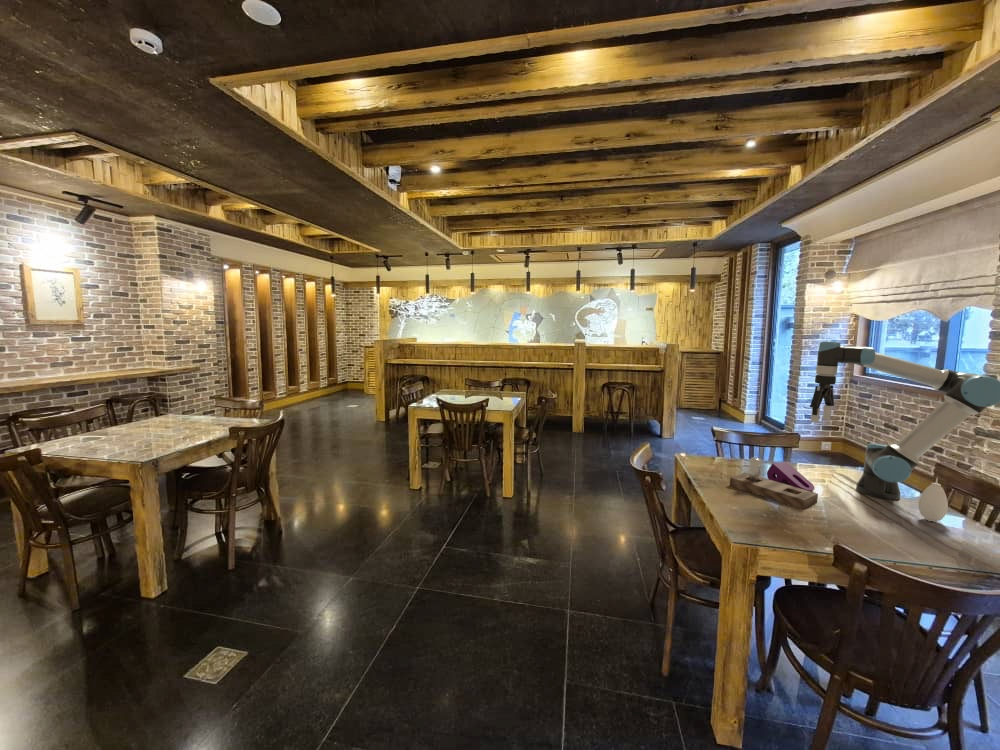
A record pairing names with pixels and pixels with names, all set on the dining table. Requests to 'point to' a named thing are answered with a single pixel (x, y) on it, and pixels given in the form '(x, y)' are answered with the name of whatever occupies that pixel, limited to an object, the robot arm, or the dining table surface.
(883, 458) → the robot arm
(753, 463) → the steel pin
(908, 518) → the dining table surface
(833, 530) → the dining table surface
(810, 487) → the mounting bracket
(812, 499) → the mount plate
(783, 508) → the dining table surface
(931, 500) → the white rounded egg-shaped figurine
